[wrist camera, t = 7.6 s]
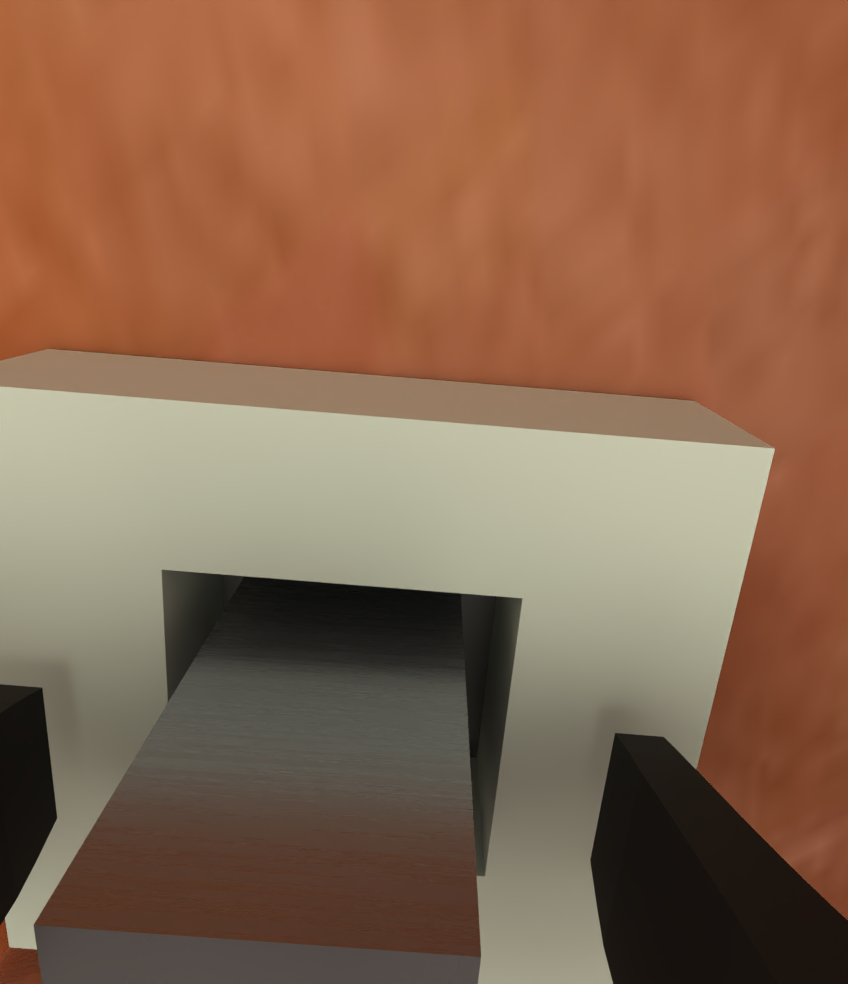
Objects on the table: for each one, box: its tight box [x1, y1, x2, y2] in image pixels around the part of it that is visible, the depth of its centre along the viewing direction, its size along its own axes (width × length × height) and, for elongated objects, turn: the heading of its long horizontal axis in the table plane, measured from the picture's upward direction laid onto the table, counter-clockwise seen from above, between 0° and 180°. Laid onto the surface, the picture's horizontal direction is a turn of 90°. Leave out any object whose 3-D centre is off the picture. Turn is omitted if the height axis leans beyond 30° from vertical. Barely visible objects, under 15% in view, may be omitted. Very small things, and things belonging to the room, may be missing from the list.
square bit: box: [33, 576, 481, 984], centre depth 9 cm, size 3×3×7 cm
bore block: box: [0, 349, 775, 984], centre depth 11 cm, size 10×9×3 cm
